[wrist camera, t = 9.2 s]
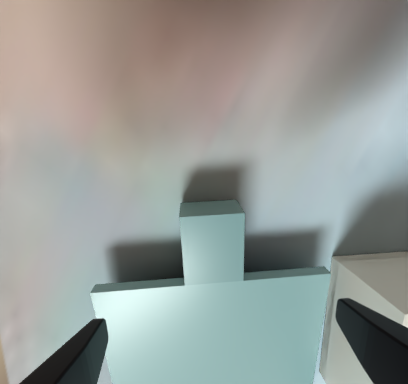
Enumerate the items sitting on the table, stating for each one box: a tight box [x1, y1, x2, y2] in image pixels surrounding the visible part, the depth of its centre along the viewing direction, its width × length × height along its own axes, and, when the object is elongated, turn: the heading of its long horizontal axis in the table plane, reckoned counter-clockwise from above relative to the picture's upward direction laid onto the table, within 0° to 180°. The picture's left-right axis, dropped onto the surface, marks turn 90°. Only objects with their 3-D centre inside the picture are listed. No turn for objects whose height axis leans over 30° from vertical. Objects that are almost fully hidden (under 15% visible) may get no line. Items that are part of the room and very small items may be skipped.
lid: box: [90, 200, 331, 384], centre depth 17 cm, size 17×16×2 cm
